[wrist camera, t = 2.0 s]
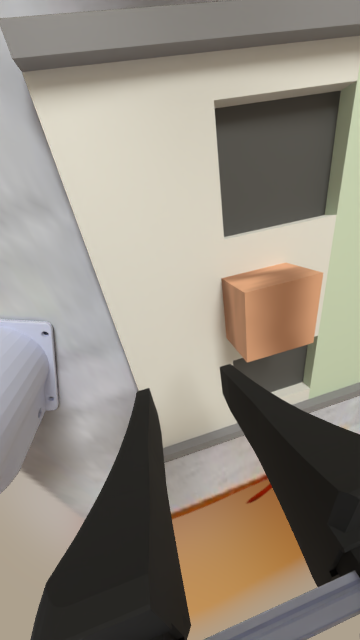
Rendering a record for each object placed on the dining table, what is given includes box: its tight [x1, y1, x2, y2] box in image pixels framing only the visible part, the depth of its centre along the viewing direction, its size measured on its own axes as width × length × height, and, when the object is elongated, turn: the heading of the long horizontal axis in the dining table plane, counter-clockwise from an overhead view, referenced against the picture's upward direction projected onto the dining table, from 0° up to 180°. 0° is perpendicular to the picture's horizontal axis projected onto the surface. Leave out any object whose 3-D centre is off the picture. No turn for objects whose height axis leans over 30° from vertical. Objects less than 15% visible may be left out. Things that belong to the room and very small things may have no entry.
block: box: [221, 263, 323, 362], centre depth 18 cm, size 6×6×4 cm
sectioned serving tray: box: [0, 0, 360, 463], centre depth 20 cm, size 35×34×2 cm
